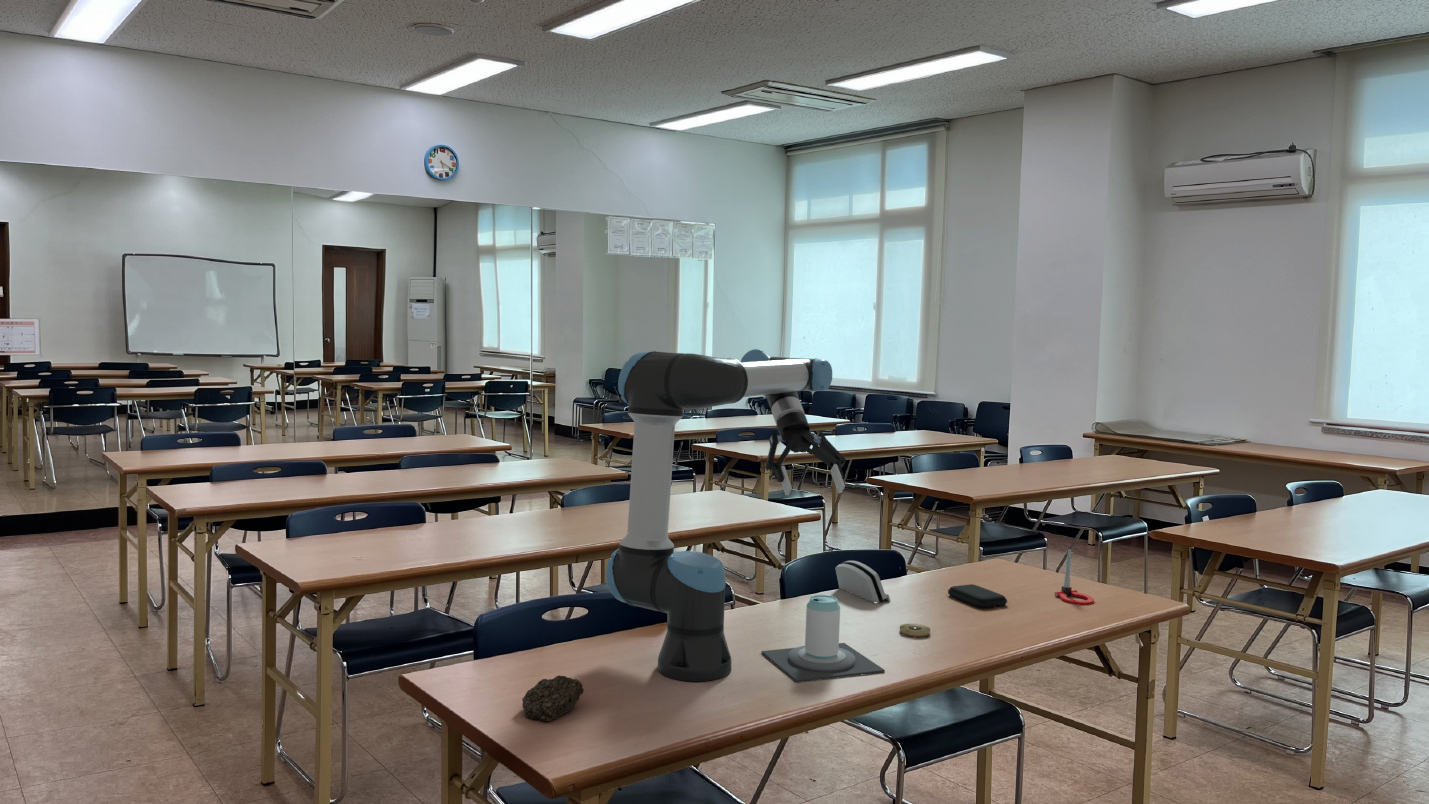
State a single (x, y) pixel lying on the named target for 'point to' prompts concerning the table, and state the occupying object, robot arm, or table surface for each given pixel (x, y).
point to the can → (822, 626)
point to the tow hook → (1068, 590)
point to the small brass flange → (915, 630)
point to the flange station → (821, 663)
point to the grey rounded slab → (860, 581)
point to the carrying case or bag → (977, 596)
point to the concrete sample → (551, 698)
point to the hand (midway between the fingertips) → (815, 491)
